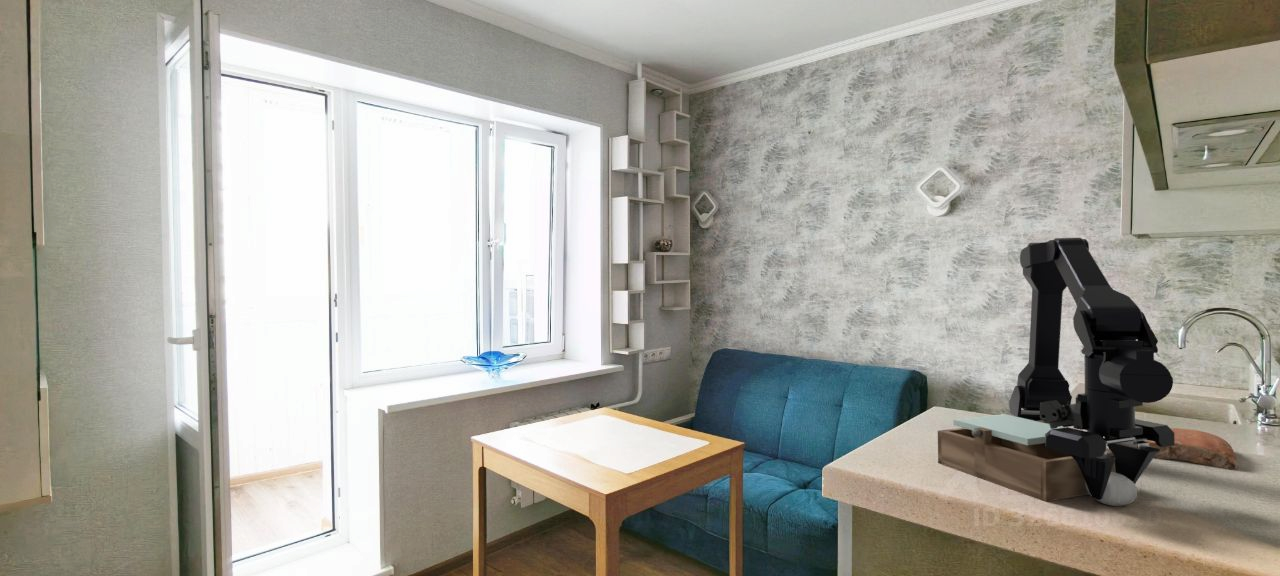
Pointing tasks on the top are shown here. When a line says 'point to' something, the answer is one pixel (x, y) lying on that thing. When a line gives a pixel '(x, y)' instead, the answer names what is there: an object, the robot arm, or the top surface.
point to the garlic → (1118, 490)
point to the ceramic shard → (1198, 449)
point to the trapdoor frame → (1012, 463)
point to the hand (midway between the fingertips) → (1110, 496)
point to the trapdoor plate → (1008, 428)
